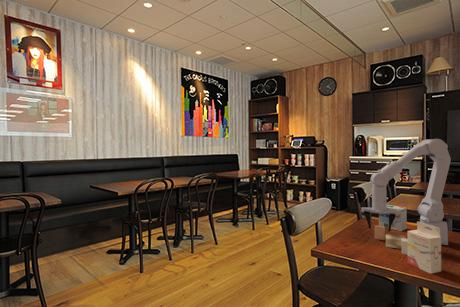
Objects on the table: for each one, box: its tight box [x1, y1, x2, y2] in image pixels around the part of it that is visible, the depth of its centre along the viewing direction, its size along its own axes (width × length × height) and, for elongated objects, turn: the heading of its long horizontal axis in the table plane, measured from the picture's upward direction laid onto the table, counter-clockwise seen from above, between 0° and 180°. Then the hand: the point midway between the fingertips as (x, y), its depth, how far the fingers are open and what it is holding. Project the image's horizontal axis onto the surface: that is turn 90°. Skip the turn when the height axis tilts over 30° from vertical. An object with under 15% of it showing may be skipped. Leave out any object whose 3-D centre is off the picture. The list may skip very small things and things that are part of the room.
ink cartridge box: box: [406, 221, 442, 274], centre depth 91 cm, size 9×5×15 cm, turn 17°
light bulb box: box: [378, 204, 408, 232], centre depth 134 cm, size 11×7×11 cm, turn 37°
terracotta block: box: [373, 225, 386, 241], centre depth 120 cm, size 4×4×5 cm
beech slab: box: [385, 232, 407, 250], centre depth 111 cm, size 7×7×4 cm
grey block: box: [401, 237, 408, 256], centre depth 103 cm, size 4×4×5 cm
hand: (379, 229), depth 120 cm, fingers open, 7 cm apart
